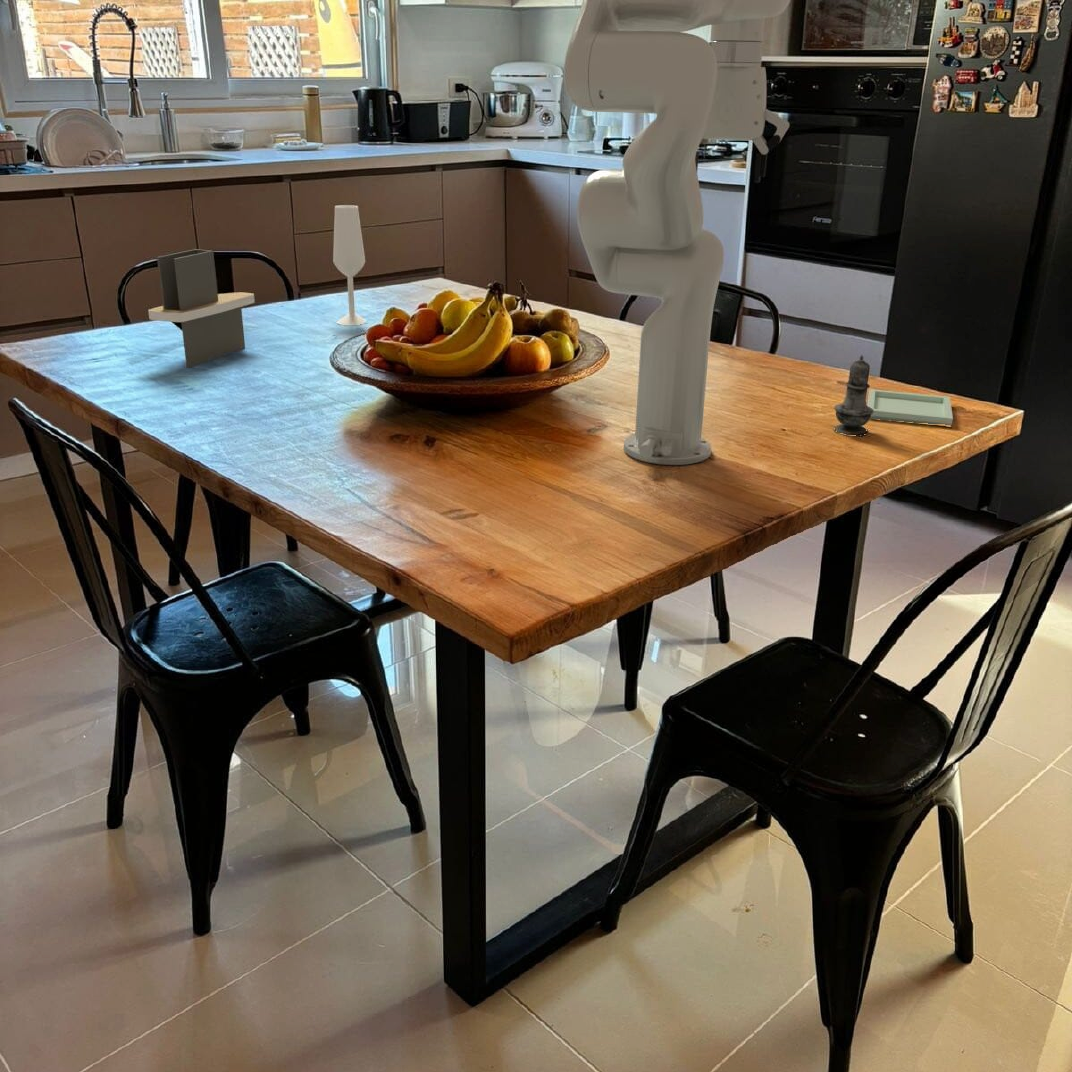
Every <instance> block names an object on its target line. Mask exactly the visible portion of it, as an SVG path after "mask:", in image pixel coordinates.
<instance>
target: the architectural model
mask: <svg viewBox="0 0 1072 1072" xmlns="http://www.w3.org/2000/svg"><path fill="white" fill-rule="evenodd" d="M214 254H215V253H214V251H213V250H210V249H208V250H207V249H199V248H198V249H195V248H194V249H190V250H185V251H180V252H176V253H170V254H166V255H161V256H157V257H156V260H157V268H158V274H159V275H158V276H159V284H160V292H161V293H160V294H161V300H162V305H161V306H160V305H159V306H157V307H153V308H151V309H150V308H149V309H148V317H149V320H152V321H159V322H167V323H168V322H169V323H170V322H171V324H173V325H174V326H176V327H177V328H178V329H179V330H180V331H182V338H183V347H184V348H183V349H184V357H185V365H186V369H190V368H192V367H195V366H198V365H200V364H201V365H202V364H204V363H207V362H209V361H213V360H214V359H218V358H220V357H224V356H225V355H226V356H227V355H229V354H231V353H234V352H237V351H240V350H242V349H246V343H245V334H244V333H245V331H244V321H243V313H242V312H243V311H242V307H246V306H248V305H252V304H254V303H256V302H255V294H254V293H251V292H227V293H218V286H217V284H218V283H217V276H216V274H217V273H216V266H215V265H216V264H215V258H214V257H215V255H214Z"/></svg>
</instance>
